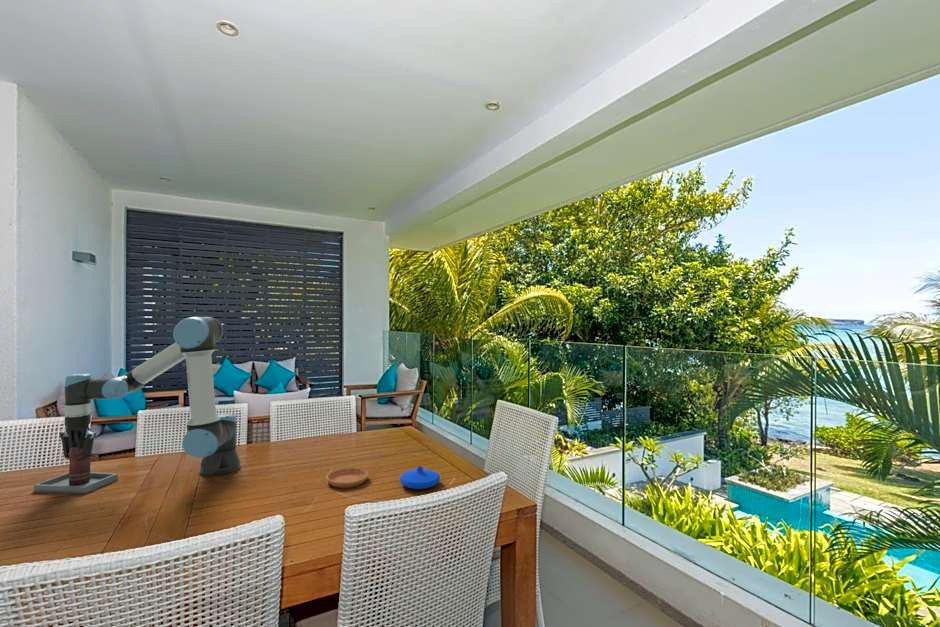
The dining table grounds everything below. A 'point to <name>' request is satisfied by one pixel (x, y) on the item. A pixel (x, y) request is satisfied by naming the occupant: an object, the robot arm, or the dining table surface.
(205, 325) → the robot arm
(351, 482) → the saucer
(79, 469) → the can
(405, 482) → the blue lid
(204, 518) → the dining table surface
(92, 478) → the tray
